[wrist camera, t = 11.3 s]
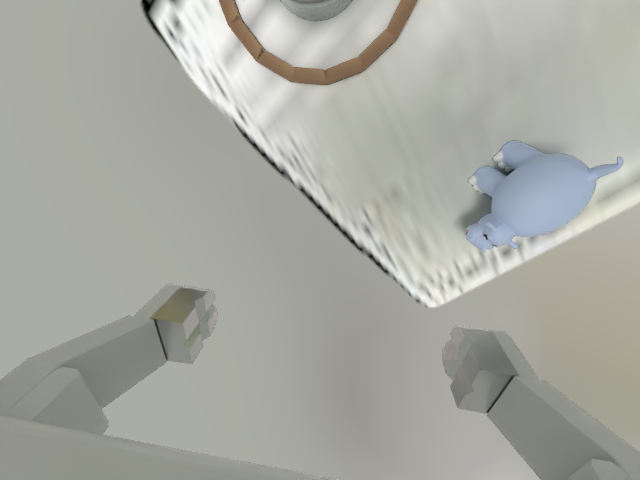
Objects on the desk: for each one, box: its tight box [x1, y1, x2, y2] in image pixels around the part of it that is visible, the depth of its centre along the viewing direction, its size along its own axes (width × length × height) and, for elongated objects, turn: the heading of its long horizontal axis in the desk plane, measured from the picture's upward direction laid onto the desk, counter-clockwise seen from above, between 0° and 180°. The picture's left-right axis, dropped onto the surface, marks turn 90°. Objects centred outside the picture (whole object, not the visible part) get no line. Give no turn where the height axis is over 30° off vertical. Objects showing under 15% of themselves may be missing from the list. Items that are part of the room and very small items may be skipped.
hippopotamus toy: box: [465, 140, 623, 252], centre depth 32 cm, size 11×15×10 cm
